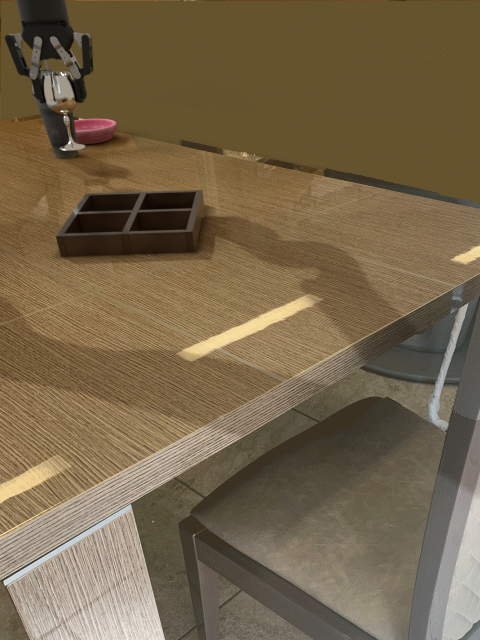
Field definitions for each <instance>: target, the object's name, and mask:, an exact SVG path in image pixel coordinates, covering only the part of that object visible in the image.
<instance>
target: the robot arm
mask: <svg viewBox="0 0 480 640" xmlns="http://www.w3.org/2000/svg"><path fill="white" fill-rule="evenodd" d="M15 3H16V5H17V6H16V7H17V11H18V16H19V19H20V23H21V31H20V32H18V33H9V34H6V35H5V36H4V40H5V43H6V45H7V49H8V50H9V53H10V56H11V58H12V61H13V64H14V66H15V69H16V72H17V73H18V75H20V76H24V77H27V78H29V79H30V81H31V86H32V85H33V89H34V93H35V97H36V98H37V100H40V103H46V101H45V99H44V94H43V86H42V78H40V75H41V70H43V64H44V63H45V60H48V61H49V60H50V59H51V60H52V59H53V60H56V61H57V60H61V61H63V63H64V65H65V66H66V67H67V68H68V69H69V71H70V73H71V75H72V77H74V78H73V81H74V86H75V91H76V96H77V101H78V103H79V104H83V103H84V102H85V99H86V98H87V96H88V93H87V88H86V84H85V77H86V76H88V75H91V74H92V73H93V72H94V54H93V53H94V51H93V37H92V35H91V34H90V33H89V32H86V33H81V32H75V31H74V29H73V27H72V26H71V23H70V19H69V13H68V9H67V3H66V0H15ZM23 41H24V42H25V43H26V45H27V46H28V48H30V49H31V51H32V52H31V57H30V58H31V59H30V67H29V65H28V63H27V61H26V57H25V55H24V52H23V50H22V48H23V46H24V43H23ZM74 41H76V43H77V46H78V48H80V49H81V56H82V67H81V66H80V64H79V62H78V59H77V58H76V56H75V54H74V52H73V51H72V49H71V47H72V46H73V44H74Z"/></svg>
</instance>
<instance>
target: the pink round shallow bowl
mask: <svg viewBox="0 0 480 640" xmlns="http://www.w3.org/2000/svg"><path fill="white" fill-rule="evenodd" d="M74 125H75V132H76V139H77V144H82V145H92V144H99V143H104V142H108V141H110V140H112V138H113V136H114V134H115V133H116V131H117V129H118V124H117V121H116V120H113V119H108V118H83V119H75V120H74Z"/></svg>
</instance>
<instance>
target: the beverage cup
mask: <svg viewBox="0 0 480 640" xmlns="http://www.w3.org/2000/svg"><path fill="white" fill-rule="evenodd" d="M44 63H45V67H46V69H41V75H40V78H42V74H44V73H48V72H58V71H57V70H54V69H51V68H50V64H49V59H48V60H44ZM31 90H32V96H33V98H34V101H35V104H36V107H38V109H39V113H40V115H41V119H42V122H43V125H44V127H45V131H46V134H47V136H48V140H49V143H50V146H51V149H52V151H53V154H54V156H55V158H57V159H70V158H69V157H72V158H74V157H73V156H76V155H78V156H79V150H73V151H65V150H61V149H60V147H61V146H63V145H66V144H68V143H69V135H68V130H67V127H66V125H65V123H64V115H63V114H59V113H56V112H54V111H52V110H51V109H50V108H49V107H48V106H47V104H46V103H40V100H37V98H36V97H35V93H34V89H33V85H32V84H31ZM67 116H68V117H69V120H70V132H71V136H72V139H73V141H74V142H75V143H77V139H76V132H75V125H74V121H75V120H74V119H75V117H74V111H73V112H72V113H69V114H68V115H67ZM76 157H77V156H76Z"/></svg>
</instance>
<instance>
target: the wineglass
mask: <svg viewBox="0 0 480 640" xmlns="http://www.w3.org/2000/svg"><path fill="white" fill-rule="evenodd" d="M73 77H74V76H73V74H72V73H71V71H70V72H69V71H57V72H48V73H44V74H42V86H43V94H44V99H45V101H46V104H47V106H48V107H49V108H50V109H51V110H52V111H54V112H56V113H59V114H63V115H64V123H65V125H66V127H67V130H68V135H69V143H68V144H66V145H63V146H61V147H60V149H61V150H65V151H73V150H78V151H80V150H83V149H85V148H86V144H77V143H75V142H74V141H73V139H72V136H71V132H70V120H69V117H68V116H67V115H68V114H69V113H72V112H73V113H74V111H76V110H77V109H78V107H79V104H80V103H78V101H77V96H76V91H75V86H74V81H73V80H74V78H73Z"/></svg>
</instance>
